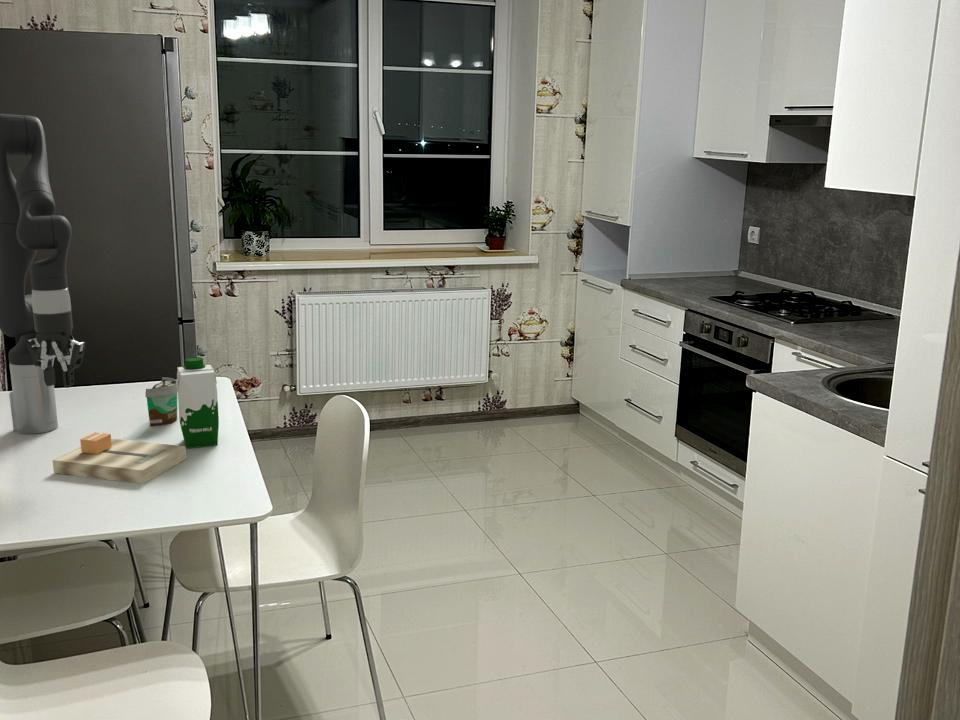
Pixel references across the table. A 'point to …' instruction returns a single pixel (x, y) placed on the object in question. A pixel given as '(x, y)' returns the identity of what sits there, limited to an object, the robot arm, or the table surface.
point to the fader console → (122, 461)
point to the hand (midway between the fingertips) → (59, 385)
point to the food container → (162, 402)
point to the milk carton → (198, 403)
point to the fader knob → (96, 443)
